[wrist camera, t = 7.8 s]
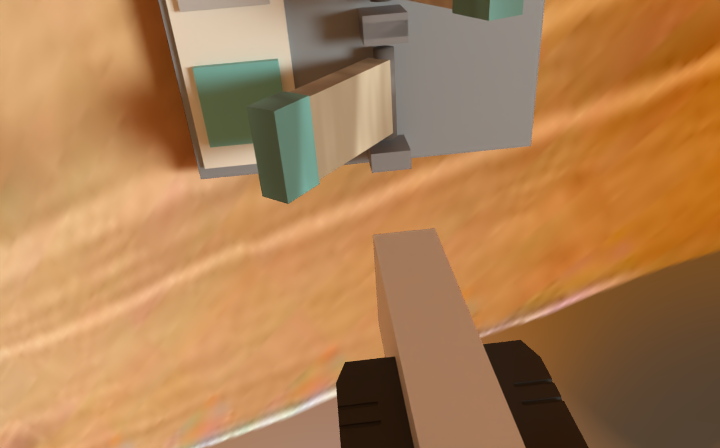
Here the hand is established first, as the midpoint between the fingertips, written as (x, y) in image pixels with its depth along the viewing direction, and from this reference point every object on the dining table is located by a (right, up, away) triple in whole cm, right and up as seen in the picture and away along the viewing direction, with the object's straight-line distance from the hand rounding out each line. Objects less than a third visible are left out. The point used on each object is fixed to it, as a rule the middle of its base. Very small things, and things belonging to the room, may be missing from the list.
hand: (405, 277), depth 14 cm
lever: (0, +8, +13) cm, 15 cm away
